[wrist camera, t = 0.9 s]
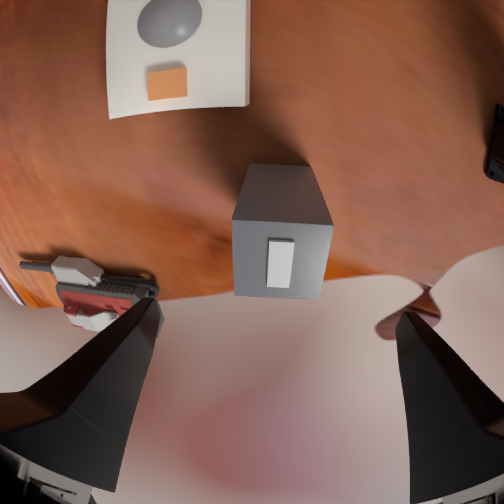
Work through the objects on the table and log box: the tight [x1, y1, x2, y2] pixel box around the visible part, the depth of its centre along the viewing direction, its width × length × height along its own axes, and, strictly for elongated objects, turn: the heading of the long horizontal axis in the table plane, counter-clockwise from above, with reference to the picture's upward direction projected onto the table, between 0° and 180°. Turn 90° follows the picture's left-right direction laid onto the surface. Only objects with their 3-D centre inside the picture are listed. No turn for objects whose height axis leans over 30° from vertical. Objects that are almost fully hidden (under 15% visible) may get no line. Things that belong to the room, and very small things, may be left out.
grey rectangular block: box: [232, 163, 334, 300], centre depth 15 cm, size 4×4×8 cm
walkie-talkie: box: [19, 255, 165, 338], centre depth 24 cm, size 9×4×20 cm
